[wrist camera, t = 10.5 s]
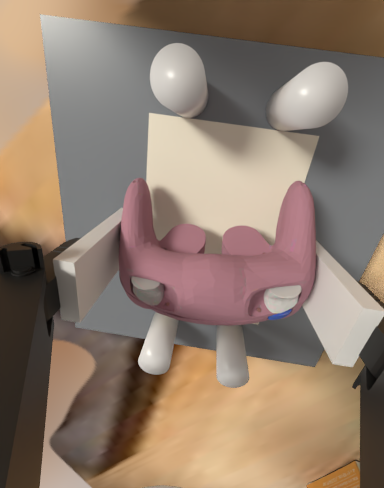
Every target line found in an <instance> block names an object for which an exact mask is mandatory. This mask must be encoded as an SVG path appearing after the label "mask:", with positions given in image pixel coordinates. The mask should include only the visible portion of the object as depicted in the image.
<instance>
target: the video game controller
mask: <svg viewBox="0 0 384 488" xmlns="http://www.w3.org/2000/svg"><path fill="white" fill-rule="evenodd" d="M205 244H206V235H205V232H204V231H203V230H202V229H201V228H200V227H198V226H196V225H192V224H179V225H177V226H175V227H173V228H172V229H171V230H170V231H169V232H168V233H167V234H166V236H165V237H164V238H163V239H162V240H158V239H157V238H156V235H155V231H154V228H153V214H152V202H151V196H150V191H149V187H148V185H147V183H146V181H145V180H144V179H143V178H136V179H135V180H133V181H132V182H131V184H130V185H129V187H128V189H127V191H126V195H125V198H124V205H123V212H122V219H121V231H120V243H119V278H120V282H121V284H122V287H123V288H124V290H125V292H126V294H127V296H128V297H129V298H130V300H131V301H132V302H133V303H135V304H136V305H138V306H140V307H142V308H145V309H152V310H153V311H155V312H157V313H159V314H162V315H165V316H168V317H171V318H174V319H177V320H181V321H186V322H191V323H196V324H205V325H227V326H232V325H244V324H252V323H258V322H262V321H266V320H277V319H283V318H286V317H289V316H291V315H293V314H295V313H296V312H297V311H299V309H300V308H301V306H302V305H303V303H304V302H305V301H306V300H307V298H308V296H309V294H310V292H311V290H312V288H313V282H314V278H315V269H316V229H315V208H314V201H313V196H312V194H311V191H310V189H309V188H308V186H307V185H306V184H305V183H303V182H302V181H295V182H294V183H292V184H291V185H290V187H289V188H288V190H287V193H286V195H285V197H284V199H283V202H282V205H281V208H280V212H279V217H278V222H277V227H276V237H275V243H274V245H273V246H272V245H269V244H268V243H267V242H266V241H265V239H264V238H263V237H262V235H261V234H260V233H259V232H258V231H257V230H256V229H254V228H252V227H249V226H235V227H231V228H229V229H228V230H227V231H225V233H224V235H223V240H222V249H221V253H222V254H204V252H205Z"/></svg>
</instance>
